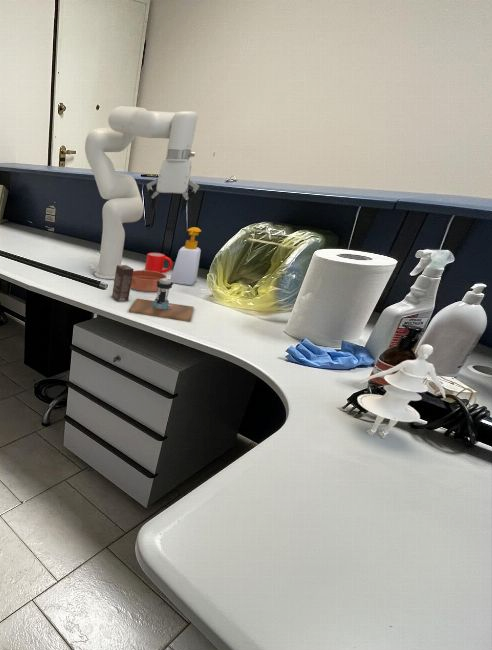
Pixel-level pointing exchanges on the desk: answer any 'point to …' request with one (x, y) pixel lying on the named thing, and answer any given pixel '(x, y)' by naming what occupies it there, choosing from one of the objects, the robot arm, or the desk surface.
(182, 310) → the cork mat
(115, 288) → the box
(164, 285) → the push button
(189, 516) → the desk surface
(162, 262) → the mug
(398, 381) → the figurine
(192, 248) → the soap bottle
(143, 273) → the bowl
